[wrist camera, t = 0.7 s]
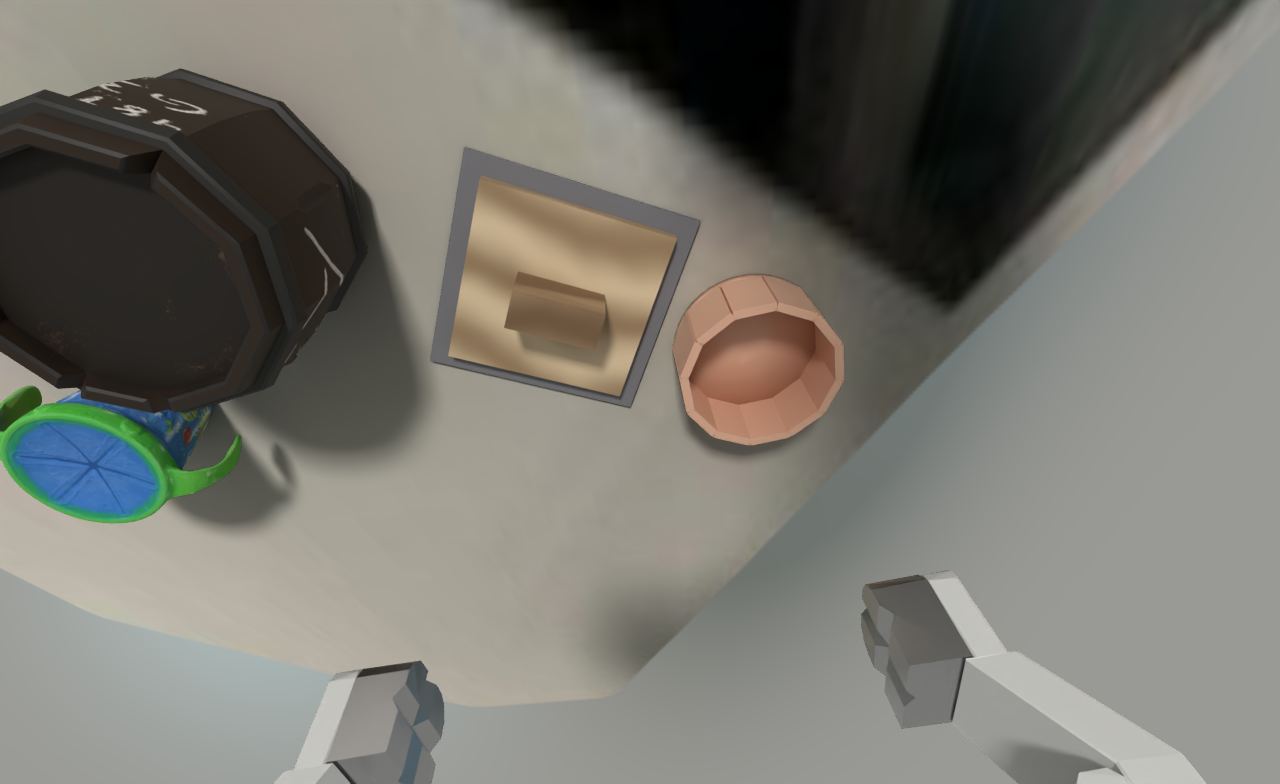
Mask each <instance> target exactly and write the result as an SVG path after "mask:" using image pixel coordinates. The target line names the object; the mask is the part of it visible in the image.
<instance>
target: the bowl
mask: <svg viewBox="0 0 1280 784" xmlns="http://www.w3.org/2000/svg"><path fill="white" fill-rule="evenodd" d="M673 353H674V358H675V363H676V367H677V372H678V377H679V382H680V386H681V391H682V395H683V399H684V404H685V408H686V412H687V414H688V415H689V416H690V417H691V418H692V419H693V420H694V421H695V422H697V423H698V424H699V425H700V426H701V427H702V428H703V429H704V430H705V431H706V432H707V433H708V434H710V435H711V436H713V437H714V438H718V439H722V440H726V441H731V442H735V443H740V444H744V445H748V446H749V445H750V444H751V446H752V445H757V444H761V443H766V442H771V441H776V440H781V439H786V438H789V436H790V437H792V436H793V435H795V434H796V433H798V432H799V431H801V430H802V429H804V428H805V427H806V426H808V425H809V424H811V423H812V422H814V421H815V420H817V419H818V418H820V417H821V416H823V413H825V412H826V411H827V409H828V407H829V406H830V404H831V402H832V400H833V399H834V397H835V395H836V394H837V392H838V390H839V389H840V387H841V385H842V384H843V382H844V381H843V380H844V344H843V342H842V341H841V339H840V338H839V337H838V335H837V334H836V333H835V331H834V330H833V329H832V327H831V326H830V324H829V323H828V322H827V320H826V319H825V318H824V316H823V315H822V314H821V312H820V311H819V310H818V309H817V307H816V306H815V305H814V304H813V302H812V301H811V300H810V299H809V297H808V296H807V295H806V294H805V293H804V291H803V290H802V289H801V288H800V287H799V286H796V285H794V284H793V283H791V282H789V281H787V280H784V279H782V278H779V277H776V276H771V275H764V274H748V275H742V276H737V277H733V278H730V279H727V280H724V281H722V282H720V283H718V284H716V285H714V286H712V287H710V288H709V289H707V290H706V291H705V292H703V293H702V294H701V295H700V296H699V297H697V298H696V299H695V300H694V301H693V302H692V304H691V305H690V306H689V307H688V308H687V310H686V311H685V313H684V314H683V316H682V318H681V320H680V322H679V324H678V327H677V330H676V333H675V338H674V344H673Z"/></svg>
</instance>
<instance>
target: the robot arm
mask: <svg viewBox="0 0 1280 784" xmlns="http://www.w3.org/2000/svg"><path fill="white" fill-rule="evenodd" d="M862 599H863V601H864V603H865V605H866V607H867V609H866V610H865V611H864V612H863V613H862V614H861V627H862V632H863V638H864V642H865V645H866V648H867V651H868V654H869V656H870V659H871V661H872V663H873V666H874V667H875V668H876V669H877V670H879V671H880V672H881V673H883V674H884V675H885V676H886V682H885V693H886V695H887V697H888V700H889V702H890V704H891V706H892V708H893V711H894V713H895V715H896V717H897V720H898V722H899V724H900V726H901V728H902V729H903V728H911V727H918V726H925V725H933V724H941V723H948V722H952V725H953V726H954V727H955V728H956V729H957V730H958V731H959V732H960V733H962V734H963V735H964V736H965V737H966V738H967V739H968V740H970V741H971V742H972V743H973V744H974V745H975V746H976V747H978V748H979V749H980V750H981V751H982V752H983V753H984V754H985V755H987V756H988V757H989V758H990V759H991V760H992V761H993V762H994V763H996V764H997V765H998V766H999V767H1000V768H1001V769H1002V770H1004V771H1005V772H1006V773H1007V774H1008V775H1009V776H1010V777H1012V778H1013V779H1014V780H1015V781H1016V782H1017V783H1018V784H1206V783H1205V782H1204V780H1203V779H1202V778H1201V776H1200V775H1199V774H1198V773H1197V772H1196V770H1195V769H1194V768H1193V766H1192V765H1191V764H1190V763H1189V762H1188V760H1187V759H1186V758H1185V757H1184V755H1183V754H1182V753H1180V752H1178V751H1177V750H1175V749H1173V748H1172V747H1170V746H1169V745H1167V744H1166V743H1164V742H1162V741H1161V740H1159V739H1158V738H1156V737H1154V736H1153V735H1151V734H1149V733H1148V732H1146V731H1145V730H1143V729H1142V728H1140V727H1138V726H1137V725H1135V724H1134V723H1132V722H1130V721H1129V720H1127V719H1126V718H1124V717H1122V716H1121V715H1119V714H1118V713H1116V712H1114V711H1113V710H1111V709H1110V708H1108V707H1106V706H1105V705H1103V704H1102V703H1100V702H1098V701H1097V700H1095V699H1093V698H1092V697H1090V696H1088V695H1087V694H1085V693H1084V692H1082V691H1081V690H1079V689H1077V688H1076V687H1074V686H1073V685H1071V684H1069V683H1068V682H1066V681H1065V680H1063V679H1061V678H1060V677H1058V676H1057V675H1055V674H1053V673H1052V672H1050V671H1049V670H1047V669H1045V668H1044V667H1042V666H1041V665H1039V664H1037V663H1036V662H1034V661H1033V660H1031V659H1029V658H1028V657H1026V656H1025V655H1023V654H1021V653H1020V652H1018V651H1007V650H1006V649H1005V647H1004V646H1003V644H1002V643H1001V641H1000V640H999V638H998V637H997V635H996V634H995V632H994V631H993V629H992V628H991V626H990V625H989V623H988V622H987V620H986V619H985V617H984V616H983V614H982V613H981V611H980V610H979V608H978V607H977V606H976V604H975V603H974V601H973V599H972V598H971V596H970V595H969V593H968V592H967V591H966V589H965V588H964V586H963V585H962V583H961V582H960V580H959V579H958V577H957V576H956V575H955V574H954V573H952V572H951V571H941V572H936V573H931V574H926V575H921V576H920V575H914V576H909V577H903V578H898V579H893V580H887V581H882V582H876V583H872V584H866V585H865V586H864V588H863V595H862ZM427 673H428V670H427V669H426V667H425V666H424V664H423V663H422V662H421V661H414V662H408V663H401V664H394V665H387V666H381V667H374V668H367V669H360V670H354V671H348V672H342V673H336V674H335V676H334V677H333V678H332V679H331V681H330V682H329V683H328V685H327V688H326V690H325V693H324V695H323V698H322V700H321V703H320V705H319V708H318V710H317V713H316V715H315V718H314V720H313V723H312V725H311V727H310V730H309V733H308V735H307V738H306V740H305V743H304V745H303V747H302V750H301V752H300V755H299V757H298V760H297V762H296V765H295V767H294V769H290V770H286V771H285V772H284V773H283V774H282V775H281V776H280V777H279V778H278V779H277V780H276V781H275V782H274V783H273V784H431V783H432V778H433V774H434V769H435V763H434V761H433V758H432V756H431V755H430V752H431V751H432V749H433V748H434V747H435V746H436V744H437V743H438V742H439V740H440V739H441V736H442V730H443V725H444V702H443V698H442V694H441V692H440V690H439V688H438V687H437V685H435V684H433V683H431V682H429V681H427V680H426V677H427Z"/></svg>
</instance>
